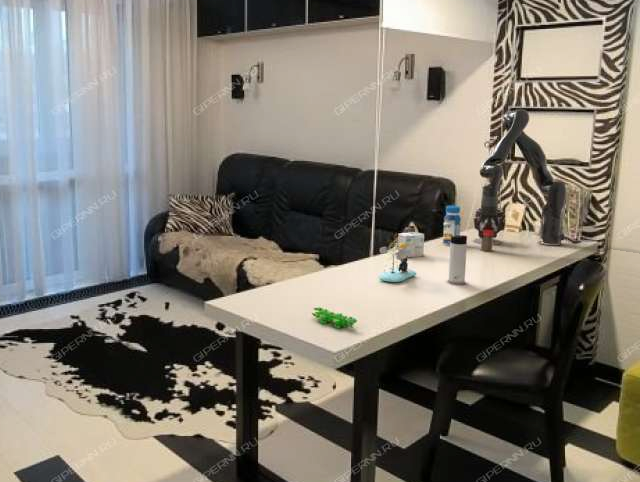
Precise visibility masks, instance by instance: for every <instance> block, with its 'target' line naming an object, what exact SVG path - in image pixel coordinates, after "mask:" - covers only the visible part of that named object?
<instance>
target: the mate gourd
mask: <svg viewBox="0 0 640 482" xmlns="http://www.w3.org/2000/svg"><path fill="white" fill-rule="evenodd" d="M480 215H481V207H479V208H476V211H475V215H474V217H480ZM497 217H499V218H500V217H502V218H503V219H504V210H503V209H500V208H497ZM481 222H482V221H481V220H480V219H479V221H478V227H479V226H480V224H481ZM498 223H499V221H498V219H497V220H496V222H495V224H496V227H498ZM503 225H504V223H503V224H502V228H501V230H502V229H503ZM482 230H491V231H493V230H494V229H493V227H492V225H485V226H484V227H483V229H482ZM501 230H498V231H497V234H499V233H500V232H501ZM477 232H479V230H477ZM474 240H475V243H478V244H481V240H482V238H480V237H479V238H476V239H474ZM500 244H501V240H499V239H496V238H493V245H492V246H494V245H500Z"/></svg>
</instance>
